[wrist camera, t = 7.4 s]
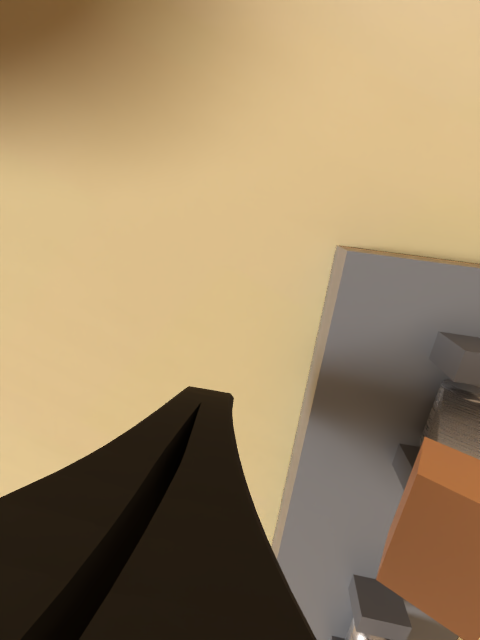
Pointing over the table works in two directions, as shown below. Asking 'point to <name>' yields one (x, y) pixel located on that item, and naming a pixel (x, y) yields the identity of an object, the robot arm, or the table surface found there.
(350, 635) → the lever
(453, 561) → the lever
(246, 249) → the table surface
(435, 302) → the breaker block
